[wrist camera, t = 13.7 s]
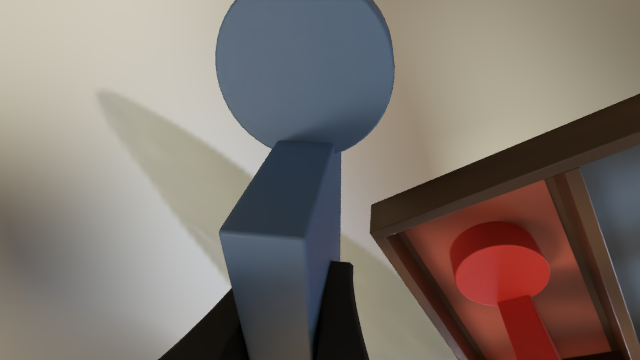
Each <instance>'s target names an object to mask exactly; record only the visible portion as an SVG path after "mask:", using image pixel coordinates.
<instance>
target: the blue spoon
mask: <svg viewBox="0 0 640 360" xmlns="http://www.w3.org/2000/svg"><path fill="white" fill-rule="evenodd" d="M394 67H395V65H394V56H393V48H392V41H391V36H390V32H389V29H388V26H387V24H386V21H385V18H384V17H383V15H382V13H381V11H380V9H379V8H378V6H377V5H376V4H375V2H374V1H373V0H235V1H234V3H233V4H232V5H231V7H230V9H229V10H228V12H227V14H226V15H225V17H224V20H223V22H222V25H221V27H220V30H219V34H218V38H217V45H216V71H217V78H218V82H219V86H220V89H221V92H222V95H223V98H224V100H225V102H226V104H227V106H228V108H229V109H230V111H231V113H232V114H233V116H234V117H235V119H236V120H237V121H238V122H239V123H240V125H241V126H242V127H243V128H244V129H245V130H246V131H247V132H248V133H249V134H250V135H252V136H253V137H254V138H255V139H256V140H258V141H259V142H261V143H262V144H264V145H266V146H267V147H270V148H272V150H271V152H270V153H269V155H268V157H267V158H266V159H265V161H264V163H263V164H262V166H261V167H260V169H259V170H258V172H257V173H256V175H255V176H254V178H253V179H252V181H251V182H250V184H249V185H248V187H247V189H246V190H245V192H244V193H243V195H242V196H241V198H240V199H239V201H238V202H237V204H236V205H235V207H234V208H233V210H232V212H231V213H230V215H229V216H228V218H227V219H226V221H225V222H224V224H223V225H222V227H221V228H220V231H219V236H220V240H221V245H222V249H223V253H224V257H225V261H226V265H227V269H228V274H229V278H230V282H231V286H232V290H233V294H234V299H235V303H236V307H237V311H238V315H239V319H240V323H241V328H242V332H243V336H244V340H245V344H246V348H247V353H248V357H249V360H316V358H317V351H318V344H319V333H320V323H321V313H322V303H323V293H324V288H325V283H326V279H327V275H328V271H329V267H330V264H331V261H339V262H340V214H341V152H342V151H344V150H347V149H348V148H350V147H352V146H354V145H356V144H357V143H358V142H359V141H361V140H362V139H364V138H365V137H366V136H367V135H368V134H369V133H370V132H371V131H372V130H373V129H374V127H375V126H376V125H377V124H378V122H379V120H380V119H381V117H382V115H383V114H384V112H385V110H386V108H387V106H388V103H389V100H390V97H391V94H392V90H393V83H394Z"/></svg>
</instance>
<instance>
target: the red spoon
mask: <svg viewBox="0 0 640 360" xmlns="http://www.w3.org/2000/svg"><path fill="white" fill-rule="evenodd" d="M450 261H451V265H452V269H453V274H454V278H455V282H456V285H457V287H458V289H459V290H460V292H461V293H462V294H463V295H464V296H466V297H467V298H469V299H471V300H472V301H475V302H477V303H480V304H485V305H491V306H498V307H499V310H500V313H501V316H502V319H503V322H504V325H505V328H506V331H507V333H508V336H509V339H510V342H511V345H512V348H513V351H514V354H515V356H516V359H517V360H562V359H561V357H560V355H559V353H558V351H557V349H556V347H555V345H554V343H553V341H552V339H551V337H550V335H549V333H548V331H547V329H546V327H545V325H544V323H543V321H542V318H541V316H540V314H539V312H538V310H537V308H536V306H535V304H534V302H533V300H532V297H534V296H536V295H537V294H538V293H540V292H541V291H542V290H543V289H544V287H545V286H546V285H547V283H548V281H549V278H550V267H549V264H548V262H547V261H546V259H545V257H544V255H543V254H542V252H541V250H540V248H539V247H538V245H537V243H536V242H535V240H534V238H533V237H532V235H531V234H530V233H529V232H528V231H526V230H525V229H523V228H522V227H519V226H517V225H514V224H511V223H506V222H488V223H483V224H479V225H476V226H473V227H471V228H469V229H467V230H466V231H464V232H462V233H461V234H460V235H459V236H458V237H457V238H456V239H455V241H454V242H453V244H452V246H451V249H450Z"/></svg>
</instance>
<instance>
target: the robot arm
mask: <svg viewBox="0 0 640 360" xmlns="http://www.w3.org/2000/svg"><path fill="white" fill-rule="evenodd" d="M158 360H249V357H248V353H247V348H246V344H245V340H244V336H243V332H242V328H241V323H240V319H239V315H238V311H237V307H236V303H235V299H234V294H233V290H232V288H231V289H230V291H229V292H228V293H227V294H226V295H225V296H224V297H223V298H222V299H221V300H220V301H219V302H218V303H217V304H216V306H215V307H214V308H213V309H212V310H211V311H210V312H209V313H208V314H207V315H206V316H205V317H204V318H203V319H202V320H201V321H200V322H199V323H198V324H197V325H195V326H194V327H193V328H192V329H191V330H190V331H189V332H188V333H187V334H186V335H185V336H184V337H183V338H182V339H181V340H180V341H179V342H178V343H177V344H175V345H174V346H173V347H172V348H171V349H170V350H169V351H168V352H166V353H165V354H164V355H163V356H162V357H161V358H160V359H158ZM316 360H369V357H368V353H367V350H366V346H365V343H364V339H363V335H362V331H361V326H360V322H359V317H358V313H357V307H356V302H355V295H354V286H353V265H352V264H351V263H349V262H339V261H331V264H330V267H329V271H328V275H327V279H326V283H325V288H324V293H323V303H322V313H321V323H320V333H319V344H318V351H317V358H316Z"/></svg>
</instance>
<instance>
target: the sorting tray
mask: <svg viewBox="0 0 640 360" xmlns="http://www.w3.org/2000/svg"><path fill="white" fill-rule="evenodd" d="M488 222H506V223H511V224H514V225H517V226H519V227H522V228H523V229H525V230H526V231H528V232H529V233H530V234H531V235H532V237H533V238H534V240H535V242H536V243H537V245H538V247H539V248H540V250H541V252H542V254H543V255H544V257H545V259H546V261H547V262H548V264H549V267H550V278H549V281H548V283H547V285H546V286H545V287H544V289H543V290H542V291H541V292H540V293H538V294H537V295H536V296H534V297H532V300H533V302H534V304H535V306H536V308H537V310H538V312H539V314H540V316H541V318H542V321H543V323H544V325H545V327H546V329H547V331H548V333H549V335H550V337H551V339H552V341H553V343H554V345H555V347H556V349H557V351H558V353H559V355H560V357H561V359H562V360H640V94H638V95H635V96H633V97H630V98H628V99H626V100H623V101H621V102H618V103H616V104H614V105H611V106H609V107H607V108H604V109H601V110H599V111H597V112H594V113H592V114H589V115H587V116H585V117H582V118H580V119H577V120H575V121H573V122H570V123H568V124H566V125H563V126H561V127H558V128H556V129H553V130H551V131H549V132H546V133H544V134H541V135H539V136H536V137H534V138H532V139H529V140H527V141H524V142H522V143H520V144H517V145H515V146H512V147H510V148H507V149H505V150H503V151H500V152H498V153H495V154H493V155H491V156H488V157H486V158H484V159H481V160H479V161H476V162H474V163H471V164H469V165H466V166H464V167H462V168H459V169H457V170H454V171H452V172H450V173H447V174H445V175H442V176H440V177H438V178H435V179H433V180H430V181H428V182H426V183H423V184H421V185H418V186H416V187H413V188H411V189H408V190H407V191H404V192H401V193H399V194H396V195H394V196H392V197H389V198H387V199H384V200H382V201H379V202H377V203H375V204H372V205H371V220H370V234H371V235H372V237H373V238H374V240H375V241H376V243H377V244H378V246H379V247H380V248H381V250H382V251H383V253H384V254H385V256H386V257H387V258H388V260H389V261H390V263H391V264H392V266H393V267H394V268H395V270H396V271H397V273H398V274H399V276H400V277H401V278H402V280H403V281H404V283H405V284H406V286H407V287H408V288H409V290H410V291H411V293H412V294H413V296H414V297H415V298H416V300H417V301H418V303H419V304H420V306H421V307H422V308H423V310H424V311H425V313H426V314H427V316H428V317H429V318H430V320H431V321H432V323H433V324H434V326H435V327H436V328H437V330H438V331H439V333H440V334H441V336H442V337H443V338H444V340H445V341H446V343H447V344H448V346H449V347H450V348H451V350H452V351H453V353H454V354H455V356H456V357H457V358H458V360H517V359H516V356H515V354H514V351H513V348H512V345H511V342H510V339H509V336H508V333H507V331H506V328H505V325H504V322H503V319H502V316H501V313H500V310H499V307H498V306H491V305H485V304H480V303H477V302H475V301H472V300H471V299H469V298H467V297H466V296H464V295H463V294H462V293H461V292H460V290H459V289H458V287H457V285H456V282H455V278H454V274H453V269H452V265H451V261H450V249H451V246H452V244H453V242H454V241H455V239H456V238H457V237H458V236H459V235H460V234H461V233H462V232H464V231H466V230H467V229H469V228H471V227H473V226H476V225H479V224H483V223H488Z"/></svg>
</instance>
